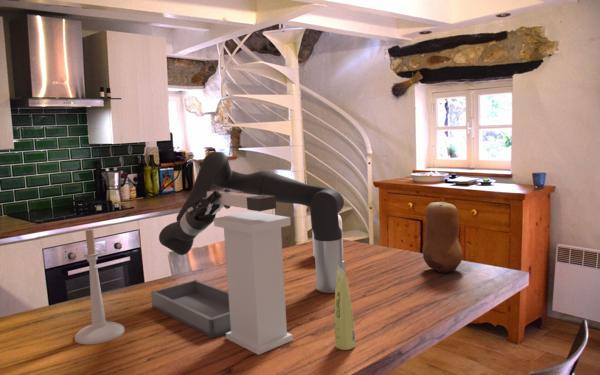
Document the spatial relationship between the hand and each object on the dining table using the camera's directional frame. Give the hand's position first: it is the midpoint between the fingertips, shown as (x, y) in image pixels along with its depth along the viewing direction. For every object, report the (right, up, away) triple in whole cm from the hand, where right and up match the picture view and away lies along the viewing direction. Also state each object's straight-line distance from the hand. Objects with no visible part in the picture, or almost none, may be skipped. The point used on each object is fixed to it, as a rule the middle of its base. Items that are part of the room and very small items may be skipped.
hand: (223, 192), depth 134 cm
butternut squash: (+72, -29, +46) cm, 90 cm away
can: (+32, -27, +74) cm, 85 cm away
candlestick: (-35, -39, +4) cm, 53 cm away
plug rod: (+4, -3, -5) cm, 7 cm away
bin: (-8, -36, +16) cm, 41 cm away
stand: (+10, -38, -4) cm, 39 cm away
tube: (+32, -38, -11) cm, 50 cm away
